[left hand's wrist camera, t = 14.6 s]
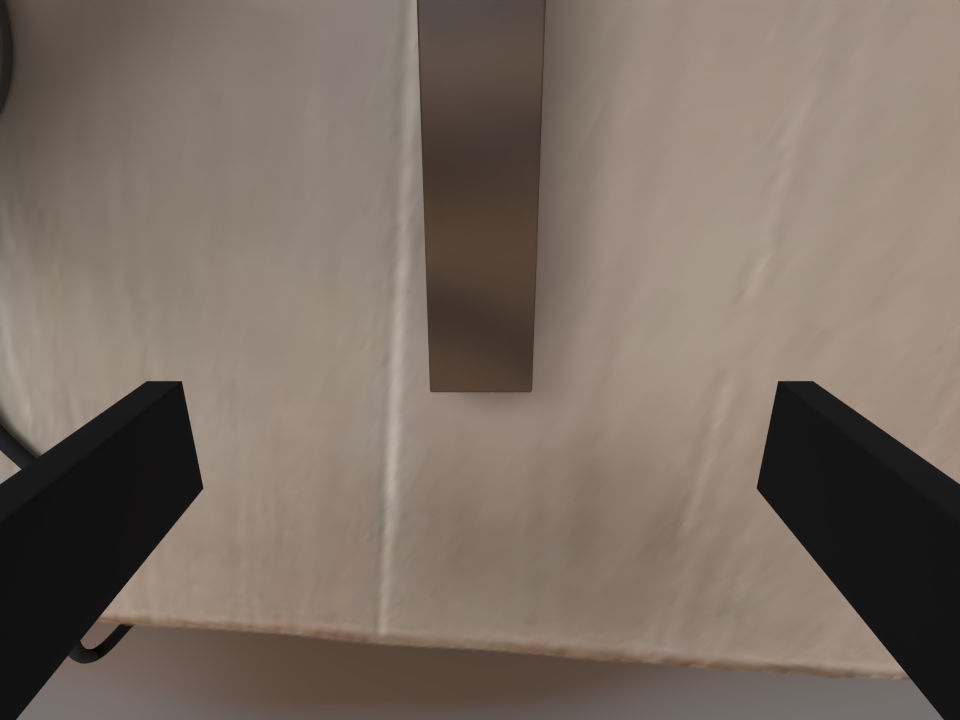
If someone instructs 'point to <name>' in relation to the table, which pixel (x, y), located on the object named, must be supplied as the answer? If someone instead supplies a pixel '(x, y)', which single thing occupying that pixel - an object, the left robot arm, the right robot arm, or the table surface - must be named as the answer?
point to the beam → (481, 188)
